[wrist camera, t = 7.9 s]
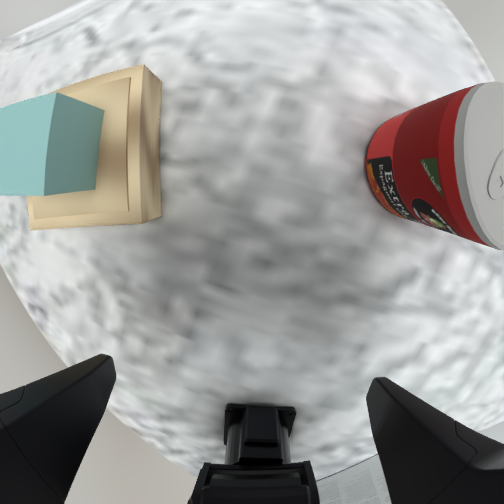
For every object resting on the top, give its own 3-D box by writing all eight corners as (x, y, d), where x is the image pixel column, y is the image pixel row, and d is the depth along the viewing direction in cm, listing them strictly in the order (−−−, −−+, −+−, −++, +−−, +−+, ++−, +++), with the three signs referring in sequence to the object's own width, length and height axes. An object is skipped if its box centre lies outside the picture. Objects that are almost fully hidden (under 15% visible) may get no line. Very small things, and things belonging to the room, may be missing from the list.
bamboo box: (163, 215, 20) (140, 224, 15) (60, 221, 20) (28, 230, 16) (163, 83, 17) (142, 63, 13) (59, 108, 17) (29, 100, 13)
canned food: (342, 175, 18) (434, 172, 8) (395, 96, 17) (490, 47, 6) (414, 238, 19) (515, 286, 8) (458, 162, 18) (560, 164, 7)
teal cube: (95, 189, 15) (43, 195, 10) (41, 188, 15) (-10, 195, 10) (104, 110, 14) (56, 91, 9) (48, 117, 14) (-1, 108, 9)
